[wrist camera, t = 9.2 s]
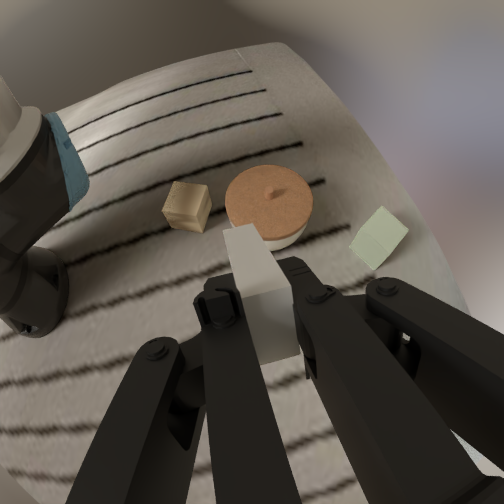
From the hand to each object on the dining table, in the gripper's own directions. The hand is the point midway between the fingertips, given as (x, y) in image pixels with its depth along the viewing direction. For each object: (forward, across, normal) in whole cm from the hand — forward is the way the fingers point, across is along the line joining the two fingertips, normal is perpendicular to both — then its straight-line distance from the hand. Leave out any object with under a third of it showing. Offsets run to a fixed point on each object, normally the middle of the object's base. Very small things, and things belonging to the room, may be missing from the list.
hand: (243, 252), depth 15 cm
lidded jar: (+26, +6, -8) cm, 28 cm away
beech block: (+30, -5, -5) cm, 31 cm away
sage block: (+21, +19, -13) cm, 31 cm away
